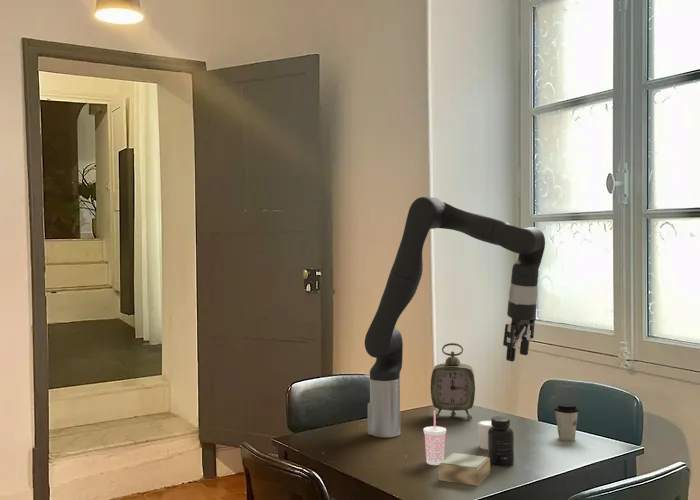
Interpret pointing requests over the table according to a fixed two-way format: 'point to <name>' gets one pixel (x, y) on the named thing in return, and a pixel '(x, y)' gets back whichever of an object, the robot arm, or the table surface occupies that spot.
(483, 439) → the white cup
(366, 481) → the table surface
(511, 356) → the robot arm
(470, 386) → the tabletop clock
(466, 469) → the small box
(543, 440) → the table surface
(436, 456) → the beverage cup
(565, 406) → the coffee cup
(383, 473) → the table surface
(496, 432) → the supplement bottle
